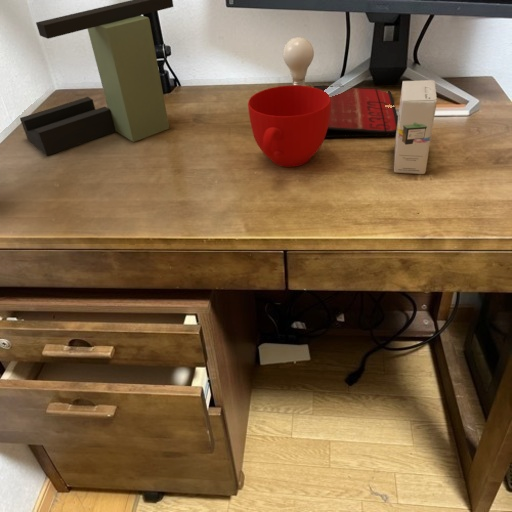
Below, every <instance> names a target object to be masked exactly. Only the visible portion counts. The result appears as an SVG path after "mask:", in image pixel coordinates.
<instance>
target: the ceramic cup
mask: <svg viewBox="0 0 512 512" xmlns="http://www.w3.org/2000/svg"><path fill="white" fill-rule="evenodd" d="M247 108H248V117H249V121H250V126H251V131H252V134H253V137H254V141H255V142H256V144H257V146H258V148H259V149H260V151H261V152H262V153H263V154H264V155H265V156H266V158H268V159H269V160H271V162H272V163H273V164H274V165H277V166H280V167H284V168H285V167H286V168H291V167H292V168H293V167H299V166H302V165H305V164H306V163H308V162H309V161H310V159H311V158H312V157H313V156H315V154H317V152H318V151H319V149H320V148H321V147H322V145H323V143H324V140H325V138H326V137H325V136H326V133H327V129H328V124H329V118H330V108H331V100H330V97H329V95H328V94H327V93H326V92H324V91H322V90H320V89H317V88H314V87H313V86H308V85H305V86H297V85H293V84H292V85H280V86H273V87H269V88H265V89H263V90H261V91H258V92H256V93H254V94H253V95H252V96H251V97H250V98H249V99H248V101H247Z"/></svg>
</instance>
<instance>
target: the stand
mask: <svg viewBox="0 0 512 512" xmlns="http://www.w3.org/2000/svg"><path fill="white" fill-rule="evenodd" d="M87 33H88V37H89V41H90V44H91V48H92V51H93V56H94V61H95V63H96V67H97V70H98V75H99V78H100V82H101V86H102V91H103V94H104V99H105V101H106V105H107V106H106V107H107V108H109V109H110V111H111V115H112V119H113V122H114V126H115V130H116V132H117V133H118V134H119V135H121V136H123V137H125V139H127V140H129V141H131V142H132V143H135V142H137V141H141V140H143V139H145V138H149V137H151V136H154V135H157V134H159V133H162V132H164V131H166V130H170V124H169V118H168V113H167V108H166V101H165V97H164V91H163V86H162V80H161V74H160V69H159V64H158V58H157V53H156V48H155V43H154V37H153V31H152V25H151V21H150V18H149V17H148V16H144V15H140V16H136V17H132V18H128V19H124V20H120V21H116V22H112V23H108V24H104V25H100V26H96V27H92V28H88V29H87Z"/></svg>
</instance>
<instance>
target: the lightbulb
mask: <svg viewBox="0 0 512 512" xmlns="http://www.w3.org/2000/svg"><path fill="white" fill-rule="evenodd" d="M314 56H315V51H314V46H313V44H312V43H311V42H310V40H308V39H307V38H306V37H302V36H296V37H293V38H290V39H289V40H288V41H287V42H286V43H285V45H284V47H283V50H282V57H283V61H284V63H285V66H286V67H287V68H288V69H289V72H290V75H291V79H292V85H297V86H306V76H307V72H308V69H309V67H310V66H311V64H312V62H313V60H314Z"/></svg>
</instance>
